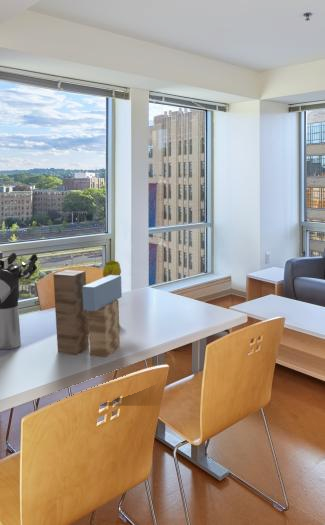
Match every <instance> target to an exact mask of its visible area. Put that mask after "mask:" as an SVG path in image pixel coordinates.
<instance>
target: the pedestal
mask: <svg viewBox="0 0 325 525" xmlns="http://www.w3.org/2000/svg"><path fill="white" fill-rule="evenodd" d="M86 273H87V272H86V271H85V270H74V269H73V270H72V269H65V270H61V271H59V272H56V273H53V275H52V276H53V292H54V308H55V310H54V312H55V323H56V324H55V325H56V342H57V343H56V344H57V353H60V354H67V355H73V356H78V355H79V354H81V353H83V352H84V351H85V350H87V349H90V339H89V332H88V317H87V310H83V290H82V286H85V285H87V279H86V278H87V277H86Z"/></svg>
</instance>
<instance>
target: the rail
mask: <svg viewBox="0 0 325 525" xmlns="http://www.w3.org/2000/svg"><path fill="white" fill-rule="evenodd" d="M82 290H83V310H89V311H96V310H98V309H100V308H102V307H104V306H106V305H108V304H109V303H111V302H113V301H115V300H119V299H121V298H122V295H123V294H122V291H123V290H122V275H120V276H118V275H109V276H106V277H102V278H99V279H97V280H94V281H92V282H89V283H86V285H85V286H82Z"/></svg>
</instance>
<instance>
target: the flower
mask: <svg viewBox="0 0 325 525" xmlns="http://www.w3.org/2000/svg"><path fill="white" fill-rule="evenodd" d="M121 273H122V270H121V265H120V263H119V261H117V260H116V261H115V260H110V261H107V262H105V263H104V265H103V269H102V278H104V277H106V276H109V275H118V276H121Z"/></svg>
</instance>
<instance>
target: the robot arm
mask: <svg viewBox="0 0 325 525" xmlns="http://www.w3.org/2000/svg"><path fill="white" fill-rule="evenodd" d="M17 258H18V255H17V253H16V252H12V253H11V254H10V255H9V256H8V257H7V258H5V259H4V260H2V259H0V350H14V349H16V348H19V347H20V346H21V345H22V342H21V340H22V338H21V328H20V325H21V324H20V313H19V297H20V279H21V278H25V280H29V279H30V277H31V276H32V275H33V274H34V273H35V272H36V271H37V269H38V267H37V265H36V262H37V261H38V260H39V259H38V256H37V254H36V253H33V254H32V255H31V256H30V257H29V259H28V260H27V261H26V262H21V263H19V264H13V263H14V262H15V261H16V259H17ZM22 269H23V270H22Z"/></svg>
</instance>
